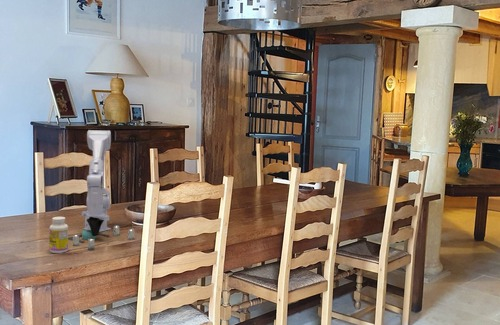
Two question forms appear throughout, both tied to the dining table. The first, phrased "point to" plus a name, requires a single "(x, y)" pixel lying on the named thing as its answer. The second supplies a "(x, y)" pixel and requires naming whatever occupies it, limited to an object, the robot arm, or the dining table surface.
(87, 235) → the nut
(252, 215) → the dining table surface
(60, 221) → the supplement bottle
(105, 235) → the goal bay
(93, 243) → the spacer field
